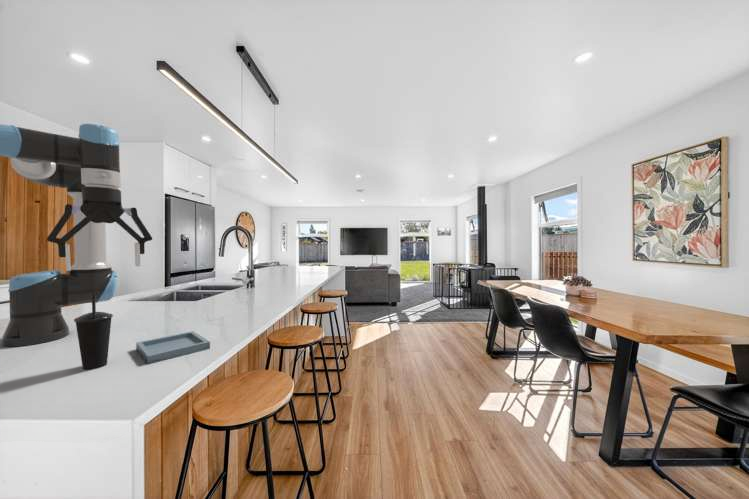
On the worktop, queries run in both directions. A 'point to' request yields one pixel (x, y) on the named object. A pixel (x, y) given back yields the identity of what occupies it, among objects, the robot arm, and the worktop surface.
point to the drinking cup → (93, 337)
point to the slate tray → (171, 346)
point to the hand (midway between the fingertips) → (105, 268)
